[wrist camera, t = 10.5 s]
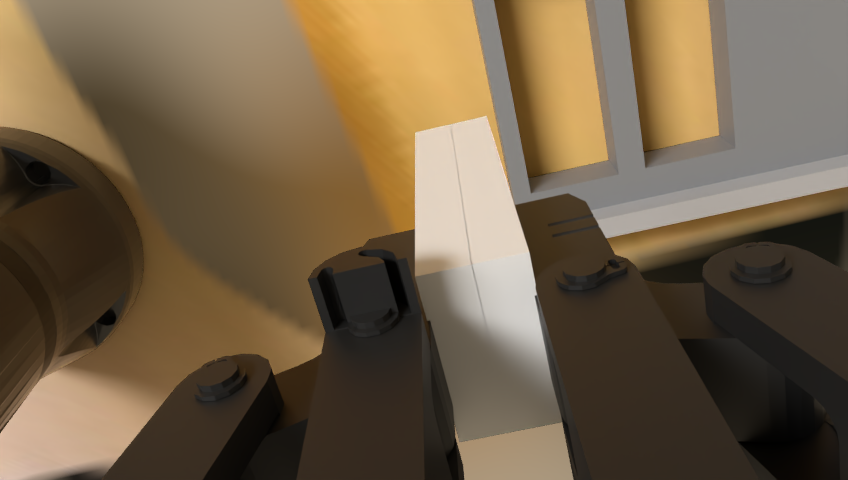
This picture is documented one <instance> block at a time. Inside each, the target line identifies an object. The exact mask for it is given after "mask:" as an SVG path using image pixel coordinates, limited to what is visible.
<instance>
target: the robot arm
mask: <svg viewBox="0 0 848 480" xmlns="http://www.w3.org/2000/svg"><path fill="white" fill-rule="evenodd" d="M142 275H143V249H142V243H141V238H140V234H139V231H138V228H137V225H136V222H135V220H134V218H133V215H132V213H131V211H130V209H129V208H128V206H127V204H126V202H125V201H124V199H123V198H122V196H121V195H120V193H119V192H118V191H117V189H116V188H115V187H114V186H113V184H112V183H111V182H110V181H109V180H108V179H107V178H106V177H105V176H104V175H103V174H102V172H100V171H99V170H98V169H97V168H96V167H95V166H94V165H93V164H91V163H90V162H89V161H88V160H86V159H85V158H83V157H82V156H81V155H79V154H78V153H76V152H75V151H73V150H71V149H70V148H68V147H66V146H64V145H62V144H60V143H58V142H56V141H54V140H52V139H50V138H47V137H44V136H42V135H39V134H36V133H32V132H29V131H25V130H20V129H15V128H8V127H0V433H1V431H2V430H3V429H4V427H5V426H6V425H7V423H8V422H9V420H10V419H11V418H12V416H13V415H14V414H15V412H16V411H17V410H18V408H19V407H20V406H21V404H22V403H23V401H24V400H25V399H26V397H27V396H28V395H29V393H30V392H31V391H32V389H33V387H34V386H35V385H36V384H37V382H38V381H39V380H40V379H41V378H43V377H45V376H47V375H49V374H51V373H53V372H54V371H56V370H58V369H60V368H62V367H64V366H66V365H68V364H70V363H72V362H74V361H75V360H77V359H79V358H81V357H83V356H85V355H87V354H88V353H90V352H92V351H93V350H94V349H96V348H97V347H98V346H100V345H101V344H102V343H103V342H104V341H105V340H106V339H108V337H109V336H110V335H111V334H112V333H113V332H114V331H115V330H116V328H117V327H118V326H119V324H120V323H121V321H122V320H123V318H124V317H125V315H126V314H127V313H128V311H129V310H130V308H131V306H132V305H133V303H134V301H135V299H136V296H137V294H138V291H139V288H140V285H141V280H142ZM308 281H309V284H310V287H311V290H312V293H313V296H314V299H315V302H316V305H317V308H318V311H319V314H320V317H321V320H322V323H323V326H324V329H325V332H326V333H325V338H324V343H323V348H322V353H321V354H320V355H318V356H317V357H315V358H314V359H312V360H310V361H308V362H305V363H303V364H301V365H299V366H297V367H294V368H292V369H289V370H287V371H284V372H281V373H279V374H276V375H273V372H272V369H271V367H270V364H269V361H268V360H267V359H265V358H263V357H261V356H259V355H254V354H239V355H234V356H225V357H221V358H218V359H217V360H216V361H215V360H213V361H210V362H208V363H206V364H204V365H203V366H202V367H201V368H200V369H198V370H196V371H195V372H193V373H191V374H190V375H188V376H187V377H186V378H185V379H184V380H183V381H182V382H181V383H180V384H179V385H178V386H177V387H176V388H175V389H174V390H173V392H172V393H171V394H170V395H169V397H168V398H167V399H166V400H165V402H164V403H163V404H162V405H161V406H160V408H159V409H158V410H157V411H156V413H155V414H154V415H153V416H152V418H151V419H150V420H149V421H148V423H147V424H146V425H145V426H144V427H143V429H142V430H141V431H140V432H139V434H138V435H137V436H136V437H135V439H134V440H133V441H132V442H131V444H130V445H129V446H128V447H127V448H126V450H125V451H124V452H123V453H122V455H121V456H120V457H119V458H118V460H117V461H116V462H115V463H114V465H113V466H112V467H111V468H110V469H109V471H108V472H107V473H106V474H105V476H104V477H103V478H102V479H101V480H464V471H463V464H462V460H461V456H460V453H459V449H458V445H457V442H456V438H455V427H456V431H457V434H458V438H459V442H463V441H468V440H473V439H478V438H483V437H489V436H494V435H499V434H504V433H509V432H514V431H519V430H525V429H530V428H535V427H540V426H545V425H550V424H555V423H560V422H562V423H563V428H564V434H565V438H566V443H567V448H568V453H569V458H570V464H571V469H572V473H573V478H574V480H848V272H847V271H844V270H843V269H841V268H839V267H837V266H835V265H833V264H831V263H829V262H828V261H826V260H824V259H822V258H820V257H818V256H816V255H814V254H812V253H811V252H809V251H806V250H803V249H800V248H797V247H794V246H791V245H783V244H775V243H772V242H759V243H758V244H756V242H753V243H746V244H743V245H741V246H737V247H733V248H729V249H726V250H724V251H722V252H720V253H718V254H716V255H714V256H712V257H711V258H710V259H709V260H708V261H707V262H706V263H705V264H704V265H703V283H684V284H669V283H657V282H651V281H646V280H643V278H642V276H641V274H640V273H639V271H638V269H637V267H636V266H635V265H634V264H633V263H631V262H630V261H629V260H628V259H626V258H623V257H620V256H617V255H615V254H614V252H613V250H612V248H611V246H610V245H609V243H608V241H607V239H606V237H605V235H604V234H603V232H602V230H601V228H600V227H599V224H598V223H597V221H596V219H595V217H593V214H592V212H591V210H590V208H589V206H588V204H587V203H586V201H584V200H581V199H579V198H577V197H575V196H573V195H571V194H569V193H566V194H562V195H557V196H553V197H548V198H544V199H539V200H535V201H530V202H526V203H521V204H517V205H514V202H513V199H512V195H511V192H510V189H509V186H508V183H507V180H506V176H505V173H504V170H503V167H502V164H501V160H500V157H499V154H498V151H497V148H496V145H495V141H494V138H493V135H492V132H491V129H490V125H489V122H488V119H487V116H484V117H480V118H476V119H472V120H467V121H463V122H459V123H454V124H450V125H446V126H441V127H437V128H433V129H428V130H424V131H420V132H415V229H414V230H409V231H405V232H400V233H395V234H391V235H386V236H382V237H378V238H373V239H369V240H368V241H367V242H366V244H365V245H364V246H363V247H359V248H356V249H353V250H349V251H346V252H343V253H340V254H338V255H336V256H334V257H332V258H330V259H328V260H326V261H325V262H323V263H322V264H321V265H319V266H318V267H317V268H315V269H314V270H313V272H312V273H311V275H310V277H309V278H308ZM454 423H455V426H454Z"/></svg>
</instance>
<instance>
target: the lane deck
mask: <svg viewBox="0 0 848 480" xmlns="http://www.w3.org/2000/svg"><path fill="white" fill-rule="evenodd" d="M708 1H709V13H710V25H711V37H712V49H713V62H714V74H715V86H716V98H717V110H718V122H719V134H720V136H715V137H711V138H706V139H702V140H697V141H693V142H688V143H684V144H679V145H675V146H670V147H666V148H662V149H657V150H653V151H648V152H643V144H642V136H641V128H640V120H639V112H638V104H637V97H636V89H635V81H634V73H633V65H632V57H631V49H630V41H629V33H628V25H627V17H626V9H625V1H624V0H586V7H587V14H588V21H589V27H590V34H591V41H592V48H593V55H594V62H595V69H596V76H597V83H598V89H599V96H600V103H601V110H602V117H603V124H604V131H605V138H606V145H607V151H608V158H609V160H608V161H603V162H599V163H594V164H590V165H585V166H581V167H576V168H572V169H567V170H563V171H558V172H554V173H550V174H545V175H541V176H536V177H532V178H528V176H527V170H526V165H525V160H524V155H523V150H522V144H521V139H520V134H519V129H518V124H517V118H516V113H515V108H514V103H513V97H512V92H511V87H510V82H509V77H508V71H507V66H506V61H505V56H504V50H503V45H502V40H501V35H500V30H499V24H498V19H497V14H496V9H495V4H494V0H472V3H473V8H474V13H475V18H476V23H477V28H478V33H479V38H480V43H481V48H482V53H483V58H484V63H485V68H486V72H487V77H488V82H489V87H490V92H491V97H492V102H493V107H494V112H495V117H496V122H497V127H498V132H499V137H500V141H501V146H502V151H503V156H504V161H505V166H506V171H507V176H508V181H509V186H510V191H511V195H512V199H513V202H514V205H517V204H521V203H526V202H530V201H535V200H539V199H544V198H548V197H553V196H557V195H562V194H566V193H569V194H571V195H573V196H575V197H577V198H579V199H581V200H584V201H586V203H587V204H588V206H589V208H590V210H591V212H592V214H593V217H595V219H596V221H597V223H598V224H599V227H600V228H601V230H602V232H603V234H604V235H605V237H606V238H610V237H615V236H619V235H624V234H629V233H633V232H638V231H643V230H647V229H652V228H657V227H661V226H666V225H671V224H675V223H680V222H685V221H689V220H694V219H699V218H703V217H708V216H713V215H717V214H722V213H726V212H731V211H736V210H740V209H745V208H750V207H754V206H759V205H764V204H768V203H773V202H778V201H782V200H787V199H792V198H796V197H801V196H806V195H810V194H815V193H820V192H824V191H829V190H834V189H838V188H843V187H848V0H708Z"/></svg>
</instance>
